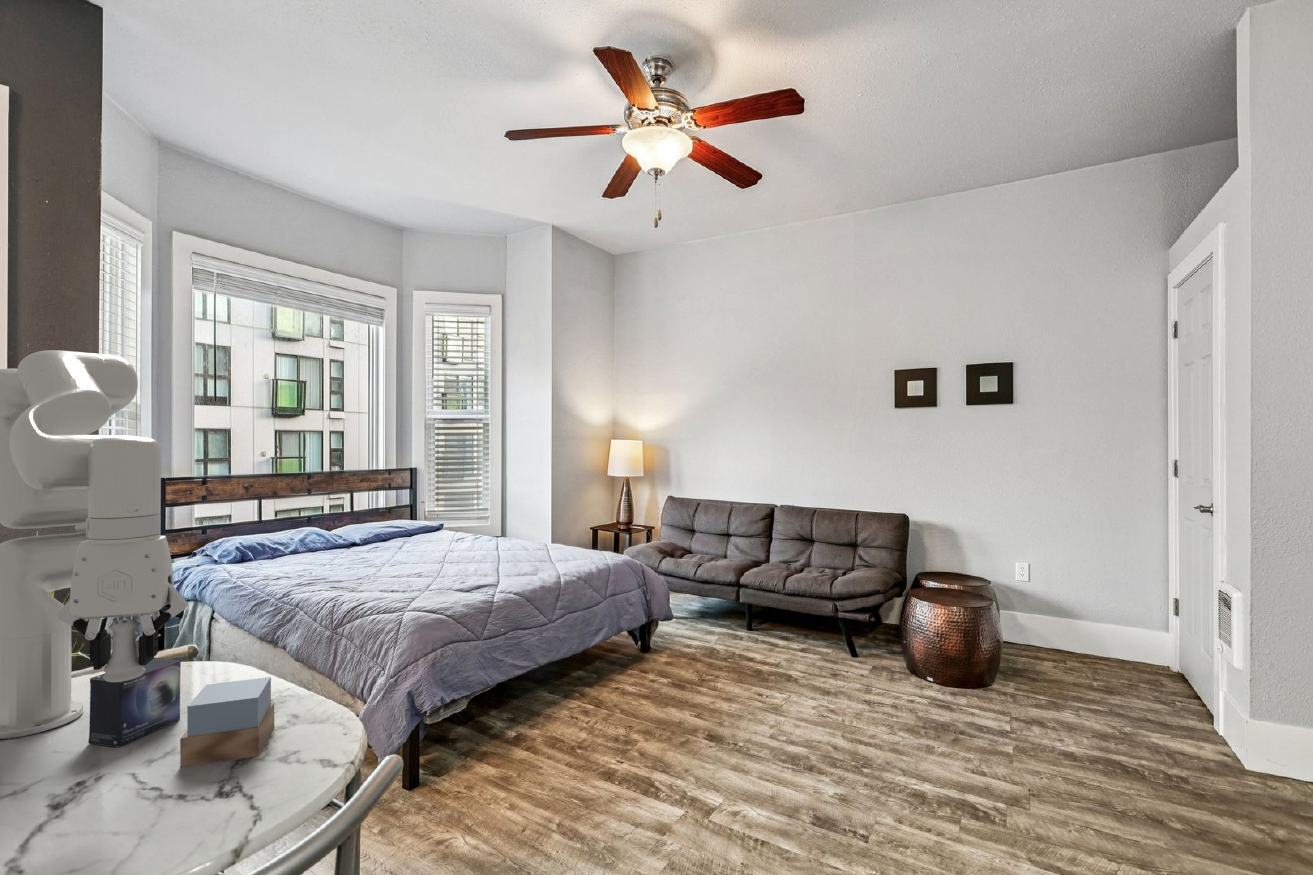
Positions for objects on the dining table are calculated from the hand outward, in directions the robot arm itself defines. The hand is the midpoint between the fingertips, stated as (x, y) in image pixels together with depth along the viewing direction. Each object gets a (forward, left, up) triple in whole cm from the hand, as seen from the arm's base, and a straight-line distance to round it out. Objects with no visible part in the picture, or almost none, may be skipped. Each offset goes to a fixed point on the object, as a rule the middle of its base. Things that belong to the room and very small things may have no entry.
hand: (124, 662), depth 86 cm
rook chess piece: (0, 0, -2) cm, 2 cm away
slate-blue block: (+10, +11, -14) cm, 20 cm away
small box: (-7, +23, -18) cm, 30 cm away
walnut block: (+9, +11, -18) cm, 23 cm away
